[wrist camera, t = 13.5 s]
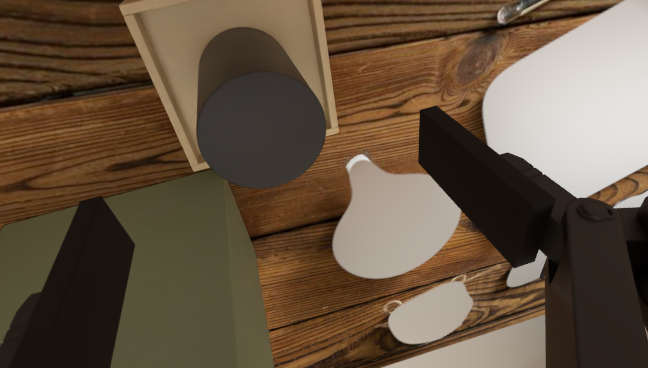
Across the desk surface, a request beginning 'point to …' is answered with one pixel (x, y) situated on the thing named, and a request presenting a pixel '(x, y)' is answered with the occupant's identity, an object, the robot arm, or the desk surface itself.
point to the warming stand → (162, 276)
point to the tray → (201, 27)
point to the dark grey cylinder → (255, 111)
